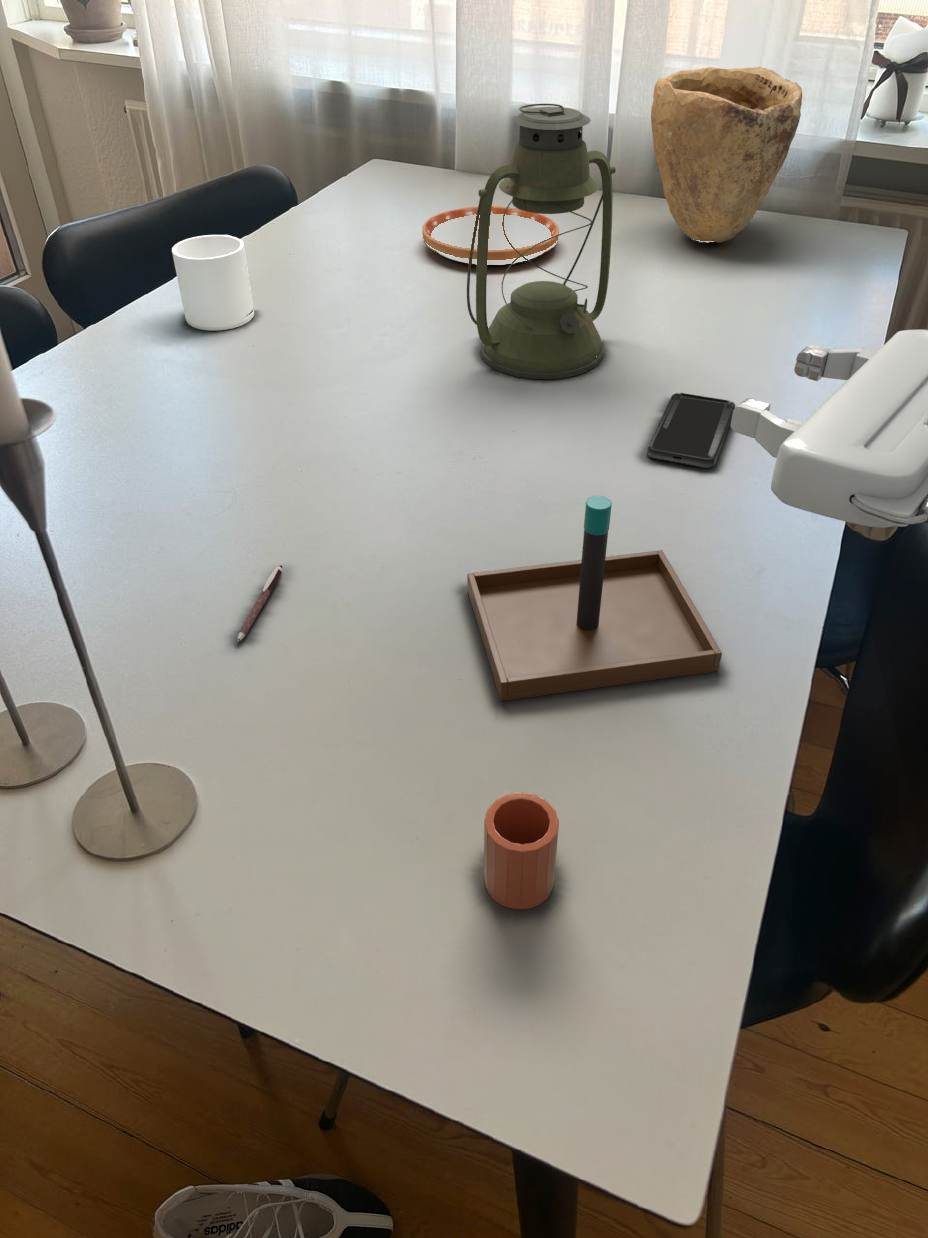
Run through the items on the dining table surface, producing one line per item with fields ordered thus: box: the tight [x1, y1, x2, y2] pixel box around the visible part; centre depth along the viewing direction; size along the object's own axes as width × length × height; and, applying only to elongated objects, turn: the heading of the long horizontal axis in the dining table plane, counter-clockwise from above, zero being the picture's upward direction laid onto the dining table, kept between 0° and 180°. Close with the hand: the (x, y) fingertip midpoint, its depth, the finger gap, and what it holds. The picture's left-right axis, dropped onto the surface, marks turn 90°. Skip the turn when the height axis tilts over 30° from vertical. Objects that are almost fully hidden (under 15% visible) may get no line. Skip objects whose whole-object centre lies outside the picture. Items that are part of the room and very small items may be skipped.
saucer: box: [421, 205, 560, 260], centre depth 163 cm, size 23×23×4 cm
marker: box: [576, 495, 613, 630], centre depth 83 cm, size 2×2×13 cm
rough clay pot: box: [650, 66, 803, 244], centre depth 157 cm, size 22×22×25 cm
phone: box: [646, 392, 736, 469], centre depth 114 cm, size 8×1×15 cm
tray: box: [466, 549, 723, 702], centre depth 87 cm, size 19×15×2 cm
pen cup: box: [483, 791, 560, 910], centre depth 65 cm, size 5×5×6 cm
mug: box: [171, 234, 255, 332], centre depth 140 cm, size 13×10×10 cm
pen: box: [236, 564, 283, 642], centre depth 90 cm, size 11×1×1 cm, turn 168°
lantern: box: [466, 103, 617, 380], centre depth 123 cm, size 21×18×30 cm
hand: (769, 384), depth 64 cm, fingers open, 8 cm apart
